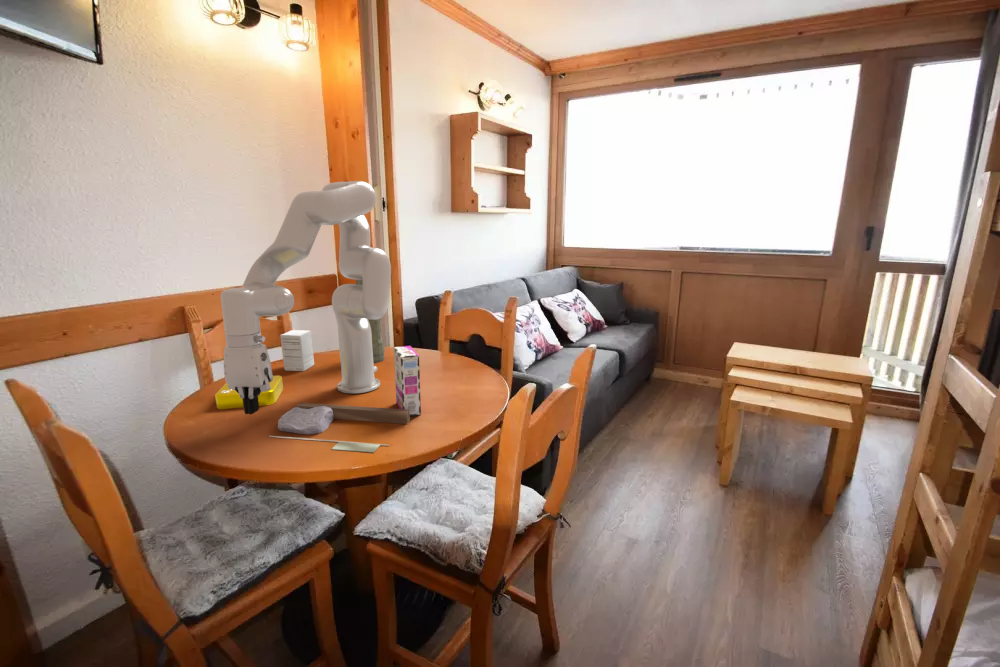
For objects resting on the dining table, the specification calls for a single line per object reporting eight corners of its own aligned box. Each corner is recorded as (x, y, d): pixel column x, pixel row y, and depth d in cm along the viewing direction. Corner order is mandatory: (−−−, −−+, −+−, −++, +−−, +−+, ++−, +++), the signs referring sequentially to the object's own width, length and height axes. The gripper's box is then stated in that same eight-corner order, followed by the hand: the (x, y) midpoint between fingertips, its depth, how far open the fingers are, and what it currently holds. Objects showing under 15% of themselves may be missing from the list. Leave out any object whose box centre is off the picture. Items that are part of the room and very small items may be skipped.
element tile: (284, 387, 147) (282, 373, 146) (274, 406, 133) (272, 389, 132) (231, 392, 144) (229, 377, 143) (214, 411, 130) (212, 394, 128)
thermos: (381, 354, 182) (375, 261, 173) (387, 362, 171) (381, 264, 163) (357, 356, 178) (350, 262, 170) (362, 365, 168) (355, 265, 159)
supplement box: (295, 364, 170) (291, 329, 167) (315, 365, 169) (311, 330, 166) (283, 370, 162) (279, 334, 159) (303, 371, 161) (300, 335, 158)
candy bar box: (422, 415, 126) (419, 355, 122) (403, 417, 124) (400, 357, 120) (413, 400, 136) (410, 344, 132) (395, 402, 134) (392, 346, 130)
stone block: (323, 441, 115) (336, 417, 124) (319, 425, 113) (333, 402, 122) (275, 443, 115) (291, 419, 125) (270, 427, 113) (287, 403, 122)
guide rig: (301, 413, 127) (300, 402, 126) (409, 420, 122) (409, 409, 121) (259, 443, 110) (257, 431, 109) (382, 453, 105) (381, 441, 104)
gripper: (282, 338, 116) (288, 408, 120) (227, 335, 119) (235, 404, 123) (262, 345, 109) (270, 420, 113) (204, 342, 111) (213, 415, 115)
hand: (251, 412), depth 118 cm, fingers closed
